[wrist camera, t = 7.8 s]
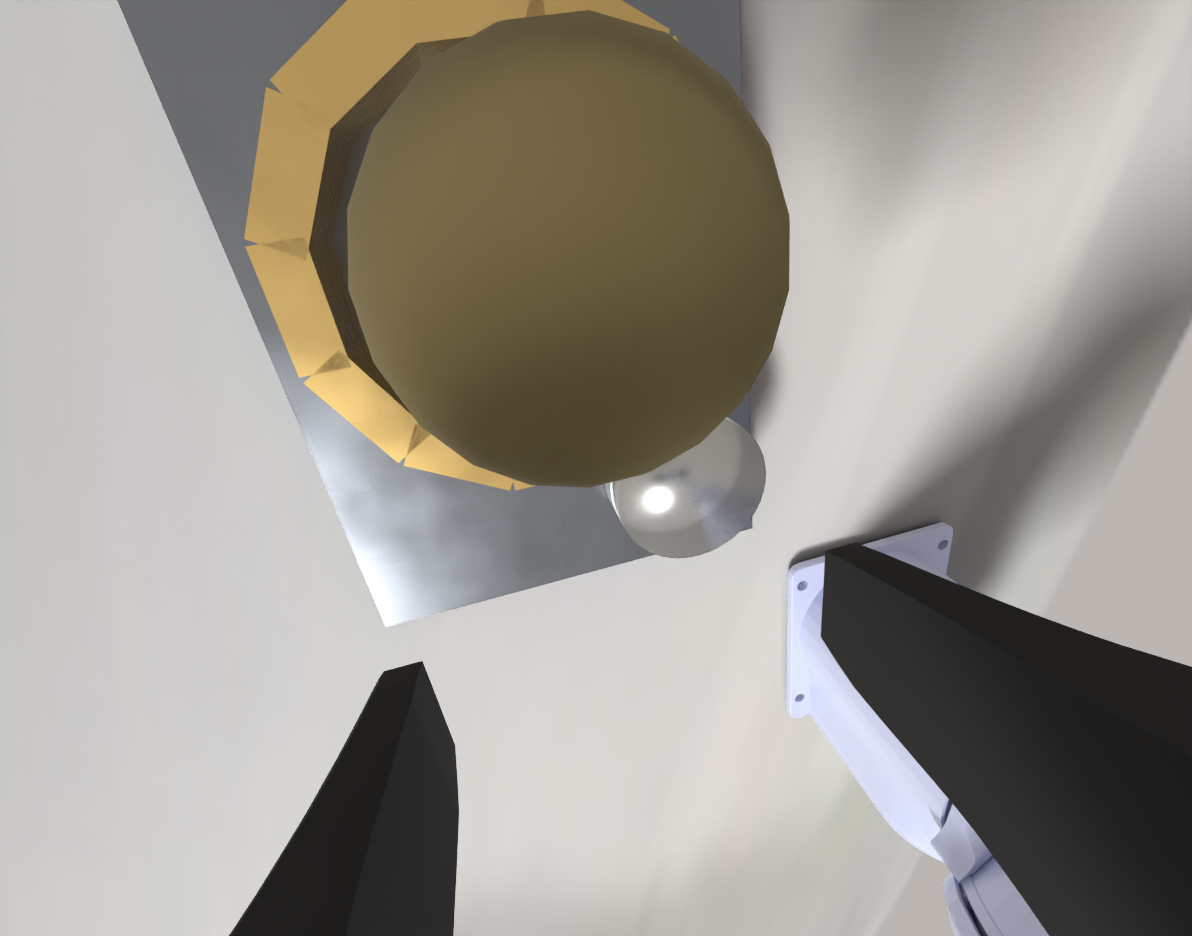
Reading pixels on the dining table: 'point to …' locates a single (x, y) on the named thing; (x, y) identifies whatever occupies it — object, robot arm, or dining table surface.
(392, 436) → the flanged metal plate
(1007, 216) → the dining table surface
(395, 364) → the cork
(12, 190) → the dining table surface
